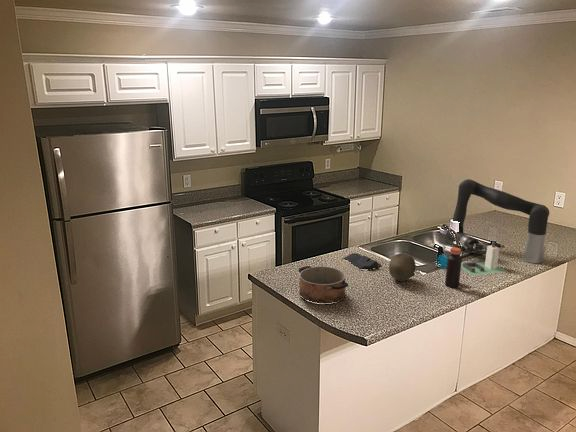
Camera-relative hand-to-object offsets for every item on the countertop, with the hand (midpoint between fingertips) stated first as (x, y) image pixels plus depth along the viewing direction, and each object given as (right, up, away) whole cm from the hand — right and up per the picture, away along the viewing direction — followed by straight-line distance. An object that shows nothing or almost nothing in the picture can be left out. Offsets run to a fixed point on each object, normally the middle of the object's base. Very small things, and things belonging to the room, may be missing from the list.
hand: (485, 251), depth 259 cm
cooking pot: (-96, -19, -34) cm, 103 cm away
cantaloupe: (-53, -14, -18) cm, 57 cm away
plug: (+1, -8, -3) cm, 9 cm away
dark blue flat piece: (-70, -8, +6) cm, 71 cm away
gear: (-24, -9, -2) cm, 25 cm away
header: (-10, -9, -5) cm, 14 cm away
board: (-5, -10, -4) cm, 12 cm away
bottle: (-28, -16, -24) cm, 40 cm away
